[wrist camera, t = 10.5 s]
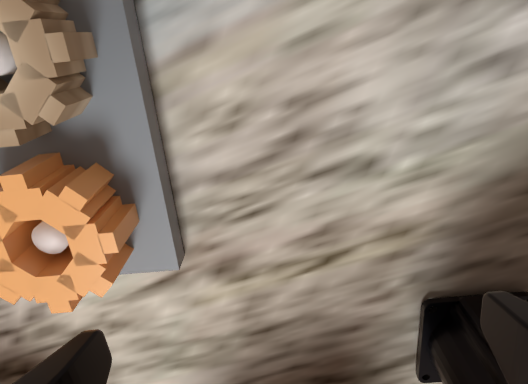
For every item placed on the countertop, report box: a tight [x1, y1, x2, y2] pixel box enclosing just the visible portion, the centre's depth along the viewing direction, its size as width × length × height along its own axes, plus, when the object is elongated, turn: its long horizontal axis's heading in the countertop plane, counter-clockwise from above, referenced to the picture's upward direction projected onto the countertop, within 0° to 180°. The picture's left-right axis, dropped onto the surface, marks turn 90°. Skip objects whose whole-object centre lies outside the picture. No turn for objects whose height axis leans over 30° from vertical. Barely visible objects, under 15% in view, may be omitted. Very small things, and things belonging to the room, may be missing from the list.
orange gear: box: [0, 152, 139, 313], centre depth 18 cm, size 7×7×3 cm
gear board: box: [0, 0, 185, 274], centre depth 17 cm, size 15×10×4 cm, turn 5°
